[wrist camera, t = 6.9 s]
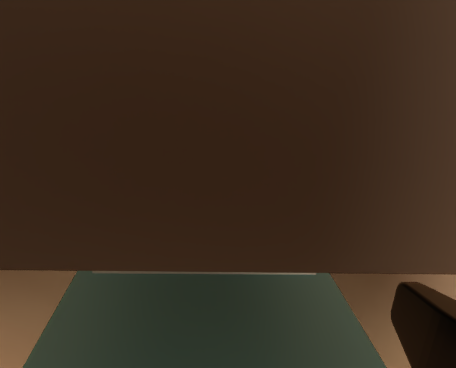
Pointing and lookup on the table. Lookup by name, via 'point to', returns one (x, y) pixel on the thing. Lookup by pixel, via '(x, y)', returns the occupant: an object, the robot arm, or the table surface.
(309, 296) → the domino
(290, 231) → the domino
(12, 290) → the table surface
